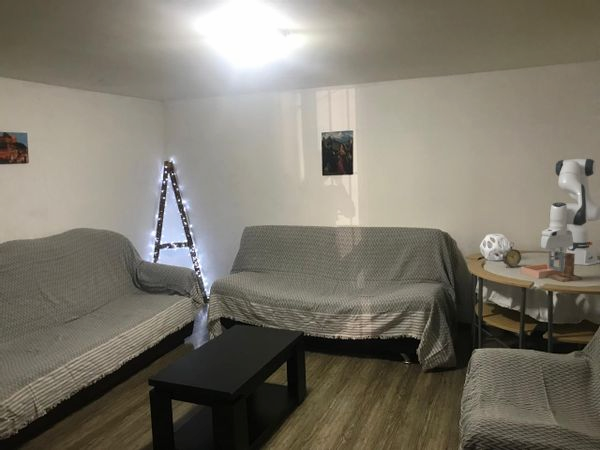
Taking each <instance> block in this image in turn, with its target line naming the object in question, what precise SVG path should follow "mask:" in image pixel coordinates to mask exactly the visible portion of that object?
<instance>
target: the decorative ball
mask: <svg viewBox="0 0 600 450" xmlns="http://www.w3.org/2000/svg"><path fill="white" fill-rule="evenodd" d="M493 240H495V241H493ZM509 244H510V246H509ZM511 247H512V245H511V242H510V241H509V239H508V237H506V236H505V235H504V234H502V233H488V234H486V235H485V237H484V238H483V239H482V241H481V243H480V245H479V250H480V253H481V254H482V256H483V257H484V258H485V259H486V260H487V261H492V262H493V261H494V262H499V261H503V259H502V256H503V253H504V252H505V251H506V250H507V249H511ZM496 254H497V255H496Z"/></svg>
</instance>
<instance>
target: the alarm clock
mask: <svg viewBox="0 0 600 450" xmlns="http://www.w3.org/2000/svg"><path fill="white" fill-rule="evenodd" d="M511 244H512V246H511V249H507V250H506V251H505V252H504V253H503V252H502V254H503V256H502V259H503V260H502V261H503V263H504V264H505V268H506V269H507V268H508V267H519V264H520V262H521V260H522V259H521V258H522V255H521V252H520V251H519V250H518V249H516V248H515V249H514V248H513V247H514V245H515V244H514V242H512V241H511V242H510V244H509V246H510V245H511Z"/></svg>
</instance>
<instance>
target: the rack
mask: <svg viewBox="0 0 600 450" xmlns="http://www.w3.org/2000/svg"><path fill="white" fill-rule="evenodd" d="M564 253H565V256H564V259H565V262H564V273H562V274H555V275H548V277H547V278H548V279H550V280H551V279H552V280H555V281H557V282H561V283H565V282H571V281H572V280H573V281H577V280H578V281H580V280H582V276H581V275H577V274H575V264H574V260H575V254H573V253H566V252H564ZM551 260H552V261H553V260H554V261H559V258H557V257H552V258H551Z"/></svg>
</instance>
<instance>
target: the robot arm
mask: <svg viewBox="0 0 600 450" xmlns="http://www.w3.org/2000/svg"><path fill="white" fill-rule="evenodd" d="M596 169H597V165H596V162H595V160H594V159H593V158H592V159H591V158H572V159H571V158H570V159H560V160H558V161H557V162H556V164H555V166H554V171H555V175H556V176H558V180H557V181H558V182H557V183H558V185H557V186H558V187H559V188H560V190H562V191H563V192H565V193H568V194H569V196H570V198H571V199H573V200H575V201H576V202H577V203H575V202H567V203H564V202H554V203H552V204H551V206H550V210H549V214H548V215H549V216H548V218H549V221H550V223H549V225H548V226H549V227H548V228H546V229H544V230H542V231H541V235H542V236H541V239H540V248H541V249H543V250H549V251H550V250H551V252H552V256H556V253H555V251H556V249H558V252H563V251H564V250H565V249H566V250H565V253H573V254H575V260H574V265H580V266H592V265H596V264H600V259H598V254H597V252H596V251H594V250H593V249H592V248H591V246H593V241H588V239H589V238H588V237H589V231H588V228H586V227H585V226H583V225H585V224H586V223H587V222H594V221H595V222H596V221H599V220H600V205H598V204H597V203H596V202H595V201H594V200H593V199H592V197H591V195H590V187H589V185H590V184H589V182H590V181H589V177H590V176H594V174H595V173H596ZM564 263H565V259H564Z"/></svg>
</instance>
